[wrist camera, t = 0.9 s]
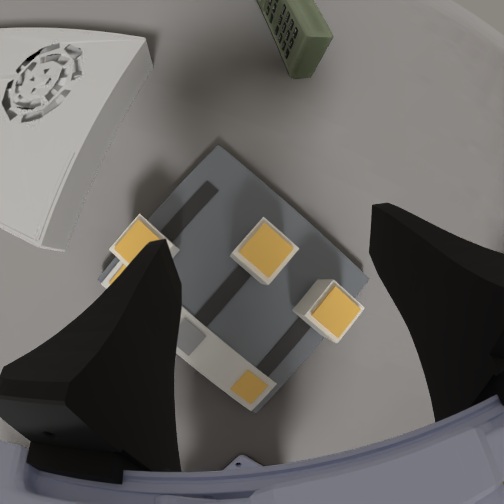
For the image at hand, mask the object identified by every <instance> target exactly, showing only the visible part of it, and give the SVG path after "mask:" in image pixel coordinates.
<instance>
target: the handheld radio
mask: <svg viewBox="0 0 504 504" xmlns="http://www.w3.org/2000/svg"><path fill="white" fill-rule="evenodd" d="M257 1H258V4H259V6H260V8H261V10H262V12H263V14H264V17H265V19H266V21H267V23H268V25H269V28H270V30H271V32H272V34H273V37H274V39H275V41H276V44H277V46H278V48H279V51H280V53H281V56H282V58H283V60H284V63H285V65H286V68H287V70H288V73H289V75H290V77H291V78H293V79H299V78H309V77H311V76H312V74H313V73H314V71H315V69H316V67H317V65H318V64H319V62H320V60H321V58H322V56H323V55H324V53H325V51H326V49H327V47H328V46H329V44H330V42H331V40H332V38H333V34H332V32H331V30H330V28H329V27H328V25H327V23H326V21H325V19H324V18H323V16H322V14H321V12H320V11H319V9H318V7H317V6H316V4H315V2H314V1H313V0H257Z"/></svg>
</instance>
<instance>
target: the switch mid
mask: <svg viewBox="0 0 504 504" xmlns="http://www.w3.org/2000/svg"><path fill="white" fill-rule="evenodd" d="M298 250H299V248H298V247H297V246H296V245H295V244H294V243H293V242H292V241H291V240H289V239H288V238H287V237H286V236H285V235H284V234H283V233H282V232H280V231H279V230H278V229H277V228H276V227H275V226H274V225H272V224H271V223H270V222H269V221H268V220H267V219H266V218H264V217H263V218H262V219H261V220H260V221H259V222H258V224H257V225H256V226H255V227H254V228H253V229H252V230H251V231H250V233H249V234H248V235H247V236H246V237H245V238H244V239H243V241H242V242H241V243H240V244H239V245H238V246H237V247H236V248H235V250H234V251H233V252H232V253H231V255H230V257H231V258H232V259H233V260H234V261H235V262H237V263H238V264H239V265H240V266H241V267H242V268H243V269H245V270H246V271H247V272H248V273H249V274H250V275H251V276H253V277H254V278H255V279H256V280H257V281H258V282H259V283H261V284H265V285H269V284H270V283H271V282H272V280H273V279H274V278H275V277H276V276H277V275H278V273H279V272H280V271H281V270H282V269H283V267H284V266H285V265H286V264H287V263H288V262H289V260H290V259H291V258H292V257H293V256H294V254H295V253H296V252H297V251H298Z"/></svg>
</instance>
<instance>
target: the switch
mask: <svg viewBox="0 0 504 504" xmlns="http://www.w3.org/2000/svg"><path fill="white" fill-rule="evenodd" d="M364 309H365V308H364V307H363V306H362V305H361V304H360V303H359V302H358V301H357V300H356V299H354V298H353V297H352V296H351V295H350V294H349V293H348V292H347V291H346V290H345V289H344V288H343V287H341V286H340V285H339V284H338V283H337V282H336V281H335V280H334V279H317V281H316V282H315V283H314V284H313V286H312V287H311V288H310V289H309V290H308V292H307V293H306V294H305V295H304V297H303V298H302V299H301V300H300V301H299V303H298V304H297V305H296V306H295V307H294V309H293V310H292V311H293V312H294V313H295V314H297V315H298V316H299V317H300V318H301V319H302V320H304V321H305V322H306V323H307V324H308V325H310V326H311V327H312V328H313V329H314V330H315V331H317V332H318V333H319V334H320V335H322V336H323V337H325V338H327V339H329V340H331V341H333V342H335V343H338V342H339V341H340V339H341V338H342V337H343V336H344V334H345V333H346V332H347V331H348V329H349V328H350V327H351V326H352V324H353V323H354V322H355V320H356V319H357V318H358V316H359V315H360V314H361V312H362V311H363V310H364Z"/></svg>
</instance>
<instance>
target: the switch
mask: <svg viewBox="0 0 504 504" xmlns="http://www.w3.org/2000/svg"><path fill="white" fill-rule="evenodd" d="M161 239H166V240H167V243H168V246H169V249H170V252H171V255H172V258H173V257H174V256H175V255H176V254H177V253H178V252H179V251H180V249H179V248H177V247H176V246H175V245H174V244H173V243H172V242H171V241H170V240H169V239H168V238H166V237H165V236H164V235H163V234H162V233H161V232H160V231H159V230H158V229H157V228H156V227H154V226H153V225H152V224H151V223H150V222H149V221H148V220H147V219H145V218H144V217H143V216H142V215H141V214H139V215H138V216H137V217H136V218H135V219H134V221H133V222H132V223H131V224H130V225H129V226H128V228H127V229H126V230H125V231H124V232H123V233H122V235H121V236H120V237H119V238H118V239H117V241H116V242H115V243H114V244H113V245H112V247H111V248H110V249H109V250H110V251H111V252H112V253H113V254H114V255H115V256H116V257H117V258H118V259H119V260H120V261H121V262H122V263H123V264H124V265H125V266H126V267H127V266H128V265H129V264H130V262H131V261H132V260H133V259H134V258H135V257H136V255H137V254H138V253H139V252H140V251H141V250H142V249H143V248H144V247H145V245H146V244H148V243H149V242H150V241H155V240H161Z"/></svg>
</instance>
